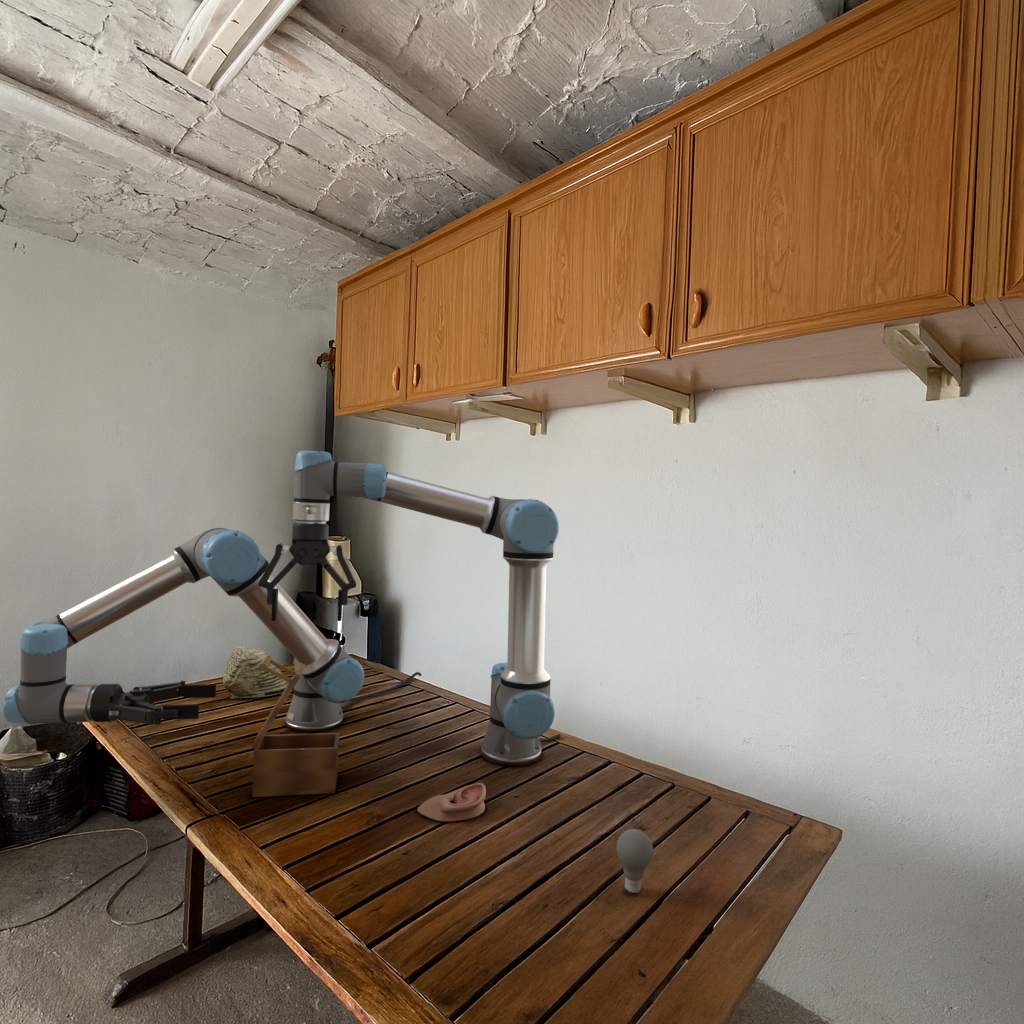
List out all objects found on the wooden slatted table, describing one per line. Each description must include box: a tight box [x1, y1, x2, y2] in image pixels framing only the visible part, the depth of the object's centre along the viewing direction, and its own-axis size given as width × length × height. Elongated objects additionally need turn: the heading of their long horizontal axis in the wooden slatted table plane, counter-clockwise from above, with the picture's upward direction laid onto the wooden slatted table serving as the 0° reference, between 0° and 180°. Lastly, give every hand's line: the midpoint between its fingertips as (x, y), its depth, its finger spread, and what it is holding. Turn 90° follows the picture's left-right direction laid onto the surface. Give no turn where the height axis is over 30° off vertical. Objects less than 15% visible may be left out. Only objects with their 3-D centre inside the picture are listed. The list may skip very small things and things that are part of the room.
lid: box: [251, 655, 305, 750], centre depth 136 cm, size 17×9×8 cm
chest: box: [251, 732, 340, 798], centre depth 138 cm, size 17×9×10 cm, turn 102°
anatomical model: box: [417, 782, 487, 822], centre depth 131 cm, size 13×4×12 cm
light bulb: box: [615, 828, 654, 894], centre depth 106 cm, size 6×6×10 cm
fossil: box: [222, 646, 288, 699], centre depth 198 cm, size 9×18×15 cm, turn 132°
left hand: (207, 700), depth 134 cm, fingers open, 13 cm apart
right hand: (307, 619), depth 138 cm, fingers open, 13 cm apart
